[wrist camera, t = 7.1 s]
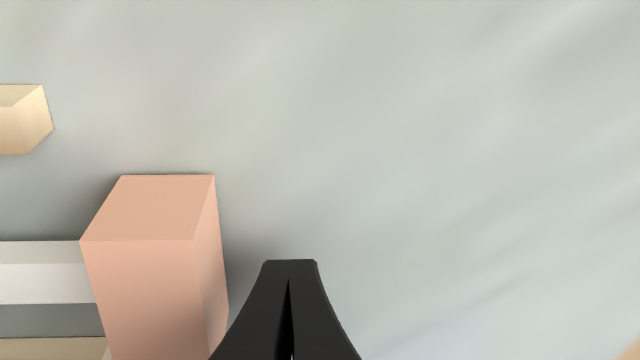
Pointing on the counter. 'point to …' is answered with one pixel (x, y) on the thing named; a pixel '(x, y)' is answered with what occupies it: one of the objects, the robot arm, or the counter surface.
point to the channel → (19, 139)
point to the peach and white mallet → (136, 269)
